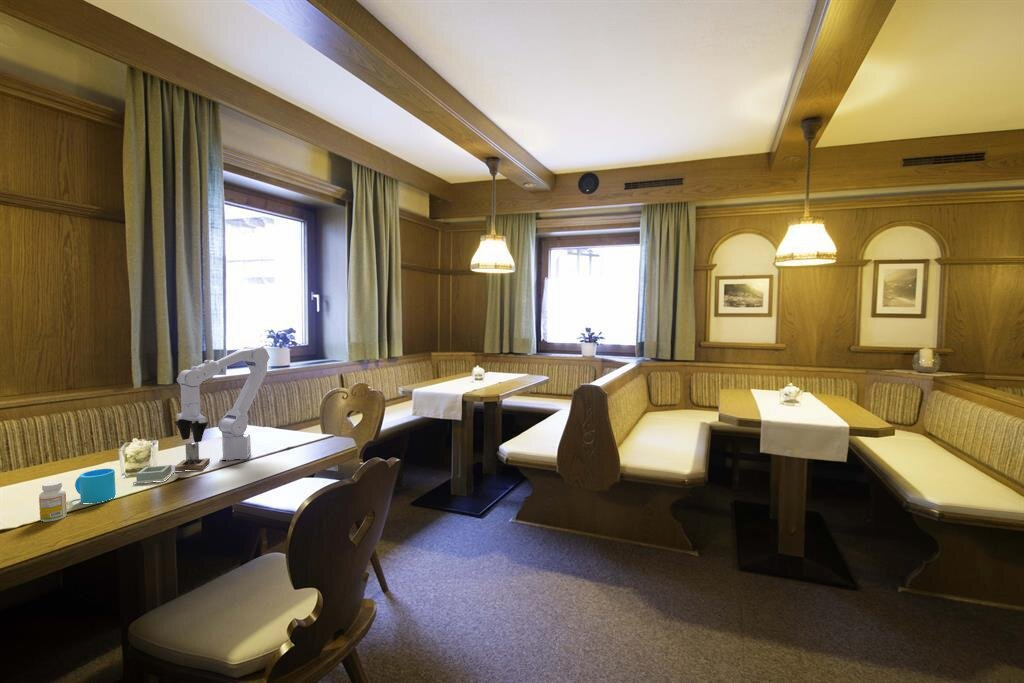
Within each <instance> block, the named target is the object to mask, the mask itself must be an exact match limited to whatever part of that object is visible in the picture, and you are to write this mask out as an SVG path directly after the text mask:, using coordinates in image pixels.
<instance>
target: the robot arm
mask: <svg viewBox="0 0 1024 683" xmlns="http://www.w3.org/2000/svg"><path fill="white" fill-rule="evenodd" d="M270 358H271V357H270V354H269V353H268V351H267V349H266V348H265V347H262V346H261V347H254V346H244V347H243V348H242V347H241V348H239V349H237V350H236V351H233V352H231V353H230V354H228V355H226V356H224V357H222V358H220V359H218V360H213V359H210V360H209V359H206V360H204V361H203V363H201V364H199V365H197V366H196V365H195V366H191V369H183V370H182V371H180V372H179V374H178V375H177V378H176V382H177V383H178V384H179V385H180V407H181V408H180V409H181V412H179V413H176V419H177V420H174V424H175V425H176V427H177V429H178V430H179V433H180V438H181V439H182V441H184V440H189V439H190V437H191V431H192V436H193V437H192V438H193V442H195V443H196V442H198V443H201V442H202V441H203V440H202V439H203V437H204V433H205V430H206V427H207V426H208V424H209V422H208V421H207V420H206V418H207V416H203V415H202V414H201V395H200V393H201V392H200V390H201V389H200V385H201V384H202V383H203V382H204V381H206V380H207V379H210V378H212V377H214V376H216V375H218V374H220V372H221V369H224V368H226V367H227V368H228V367H229V366H232V365H233V364H236V363H239V362H243V363H244V364H245V365H246V366H247V367H248V369H249V371H250V373H249V374H248V377H247V379H246V381H245V383H244V385H243V386H242V389H241V390H240V393H239V394H238V396H237V399H236V401H235V403H233V404H234V405H233V406H232V408H231V409H230V410H228V411H227V412H226V413H225V414H224V416H223V417H222V418H220V420H219V421H218V424H217V428H218V430H219V431H220V432H221V440H222V442H221V443H222V444H221V445H222V456H221V457H220V459H219V460H220V461H219V462H223V461H222V460H226V461H235V460H234V459H240V460H247V459H249V457H250V456H251V454H252V450H251V444H252V442H251V434H247V433H246V434H245V432H246V431H247V429H248V421H249V416H248V412H249V410H250V408H251V406H252V404H253V402H254V399H255V397H256V396H257V394H258V391H259V389H260V387H261V385H262V384H263V382H264V379H265V377H266V376H267V373H268V362H269V359H270ZM249 455H250V456H249Z"/></svg>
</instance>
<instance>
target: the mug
mask: <svg viewBox="0 0 1024 683" xmlns="http://www.w3.org/2000/svg"><path fill="white" fill-rule="evenodd" d="M115 470H116V469H113V468H100V469H99V468H98V469H93V470H88V471H85V472H82V473H80V474H79V476H78V477H77V478H76V480H75V483H74V487H75V490H76V492H77V493H78V494H79V495H80V504H82V503H97V502H102V501H106V500H109V499H111V498H114V497H115V495H116V496H117V494H116V474H115V473H116V472H115ZM115 498H116V497H115ZM115 498H114V499H115ZM109 501H110V500H109ZM106 502H107V501H106ZM102 503H103V502H102ZM97 504H98V503H97Z"/></svg>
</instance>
